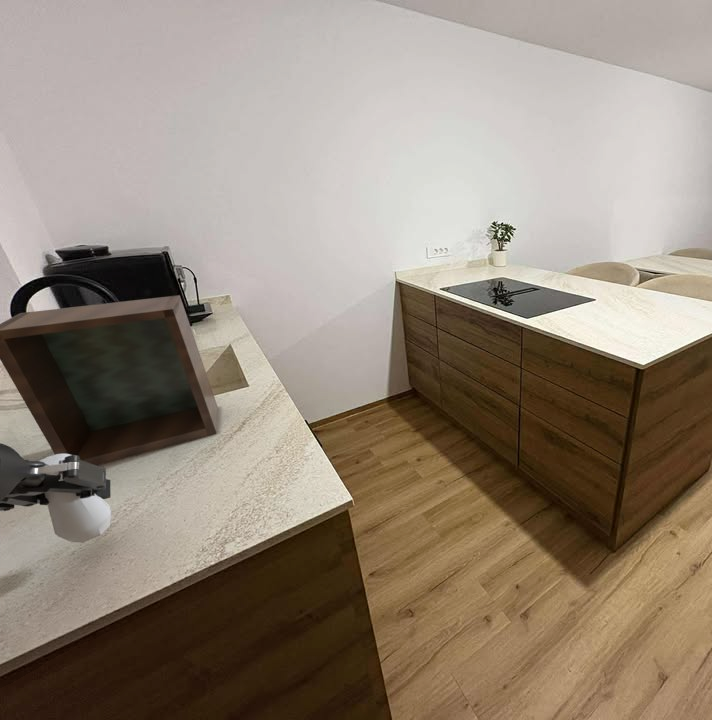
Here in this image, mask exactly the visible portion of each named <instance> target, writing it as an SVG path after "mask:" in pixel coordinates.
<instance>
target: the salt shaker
mask: <svg viewBox="0 0 712 720" xmlns="http://www.w3.org/2000/svg"><path fill="white" fill-rule="evenodd" d="M68 456H70V454H65V453H64V454H56V455H55V454H52V455H49V456H47V457H44V458H42V459H39V461H40V462H44V463H45V464H47V465H54V464H59V461H60V460H65V457H68ZM94 494H95V493H94ZM45 497H46V498H47V499H48V501H49V504H47V505H46V506H47V509H48V513H49V517H50V520H51V524H52V527H53V531H54V535H56V536H57V537H58V538H61V539H63V540H66V541H68V542H71V543H79V544H84V543H86V542H89V541H90V540H93V539H95V538H98V537H100V536H102V535H103V533H104V532H105V531H106V530H107V529H108V528H110V525H111V519H112V510H111V505H110V504H108V503H107V502H106V501H105V499H102V498H101V497H99V496H97V495H96V494H95V496H91V497H88V498H83V499H80V496H76V493H65V492H45Z"/></svg>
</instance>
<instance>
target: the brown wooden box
mask: <svg viewBox="0 0 712 720" xmlns="http://www.w3.org/2000/svg"><path fill="white" fill-rule="evenodd" d="M200 353H201V352H200V351H199V347H198V345H197V342H196V339H195V335H194V333H193V329H192V327H191V324H190V321H189V318H188V315H187V313H186V310H185V307H184V303H183V301H182V298H181V295H179V294H178V295H170V296H161V297H152V298H143V299H134V300H126V301H125V300H124V301H117V302H107V303H99V304H98V303H97V304H89V305H81V306H80V305H79V306H72V307H62V308H54V309H45V310H35V311H27V312H20V313H18V314H16V315H14V316H12V317H10V318H9V319H6V320H4V321H3V322H1V323H0V362H1V363H2V366H3V367H4V369H5V370H6V372H7V374H8V376H9V378H10V379H11V381H12V382H13V385H14V386H15V388H16V390H17V391H18V393H19V395H20V396H21V399H22V400H23V402H24V404H25V405H26V407H27V409H28V410H29V412H30V414H31V416H32V417H33V419H34V421H35V422H36V424H37V426H38V428H39V429H40V431H41V433H42V434H43V437H44V438H45V440H46V442H47V443H48V445H49V447H50V448H51V450H52V452H53V455H56V454H64V453H65V454H70V455H77V456H79V457H80V460H82V461H85V462H88V463H91V464H94V465H97V466H100V465H105V464H108V463H112V462H116V461H120V460H123V459H127V458H131V457H134V456H138V455H142V454H146V453H149V452H153V451H157V450H162V449H165V448H168V447H169V448H170V447H173V446H176V445H180V444H184V443H187V442H191V441H196V440H199V439H202V438H208V437H210V436H211V437H212V436H214V435H217V434H218V421H219V407H218V404H217V400H216V398H215V395H214V391H213V389H212V385H211V383H210V379H209V377H208V374H207V370H206V367H205V366H204V361H203V359H202V356H201V354H200Z"/></svg>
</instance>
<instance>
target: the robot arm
mask: <svg viewBox="0 0 712 720" xmlns="http://www.w3.org/2000/svg"><path fill="white" fill-rule="evenodd" d="M45 492H65V493H76V496H80V499H83V498H88V497H91V496H95V494H96V495H97V496H99V497H101V498H102V499H103V500H106V499H110V498H111V479H108V478H107V468H105V467H102V466H100V465H98V466H97V465H94V464H91V463H88V462H85V461H82V460H80V457H79V456H77V455H70V456H68V457H65V460H60V461H59V464H54V465H47V464H45V463H44V462H40V460H37V461H35V460H28V459H25V458H23V457H22V456H21V455H20V454H19V453H18V451H16V449H14V448H12V447H11V446H9V445H7V444H4V443H1V442H0V512H1V511H3V512H9V511H11V510H14V509H15V508H16V507H15V506H20V507H25V508H26V507H33V506H35V505H38V504H39V506H48V505H47V504H49V501H48V499H47V498H46V497H45ZM94 493H95V494H94Z"/></svg>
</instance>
